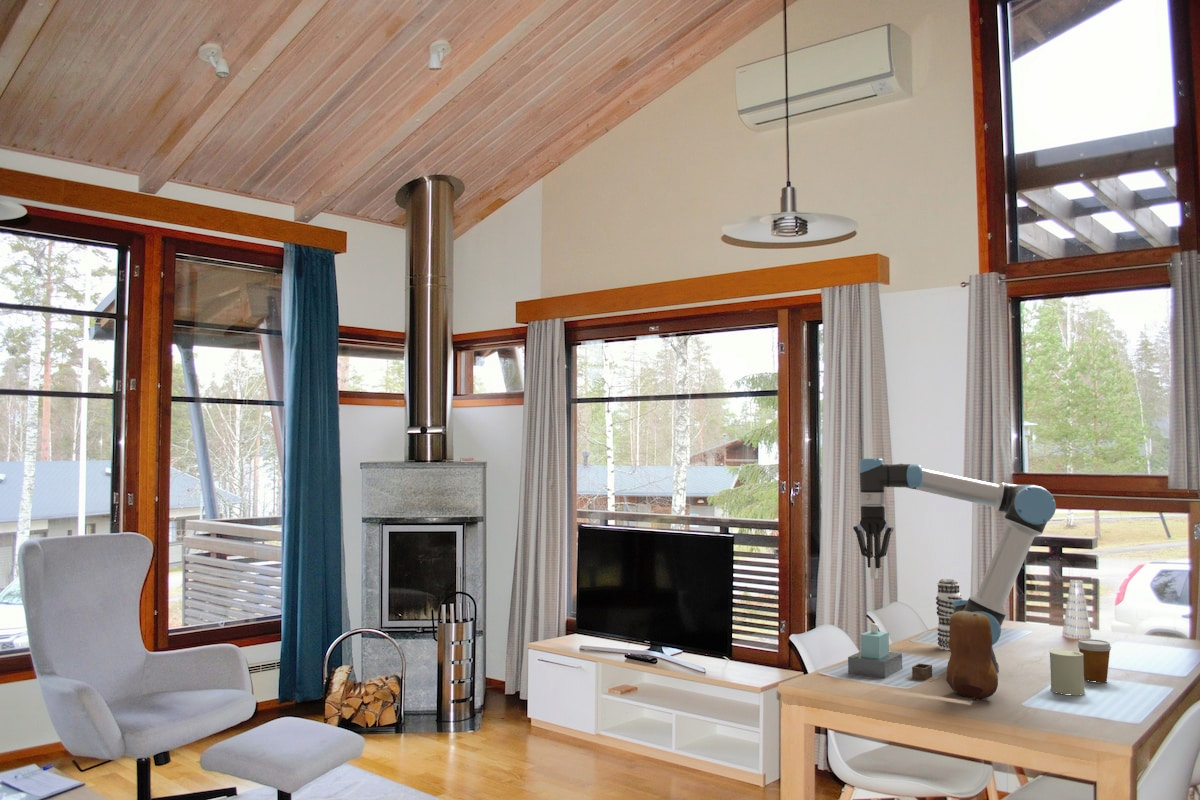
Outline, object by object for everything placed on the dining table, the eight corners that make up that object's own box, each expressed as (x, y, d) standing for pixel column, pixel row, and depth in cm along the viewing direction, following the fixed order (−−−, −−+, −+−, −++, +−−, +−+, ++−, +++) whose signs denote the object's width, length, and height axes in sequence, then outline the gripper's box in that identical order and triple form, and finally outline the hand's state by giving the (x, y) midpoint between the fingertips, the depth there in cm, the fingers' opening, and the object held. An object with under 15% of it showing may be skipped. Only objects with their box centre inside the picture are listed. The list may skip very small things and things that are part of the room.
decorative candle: (965, 647, 339) (964, 579, 341) (960, 652, 331) (958, 582, 333) (940, 645, 344) (938, 577, 346) (934, 649, 336) (932, 580, 338)
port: (902, 672, 300) (901, 652, 300) (885, 681, 287) (884, 660, 288) (866, 667, 307) (866, 648, 308) (848, 676, 294) (847, 656, 295)
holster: (939, 680, 289) (938, 665, 289) (931, 684, 283) (931, 670, 283) (913, 676, 294) (913, 662, 294) (905, 681, 287) (905, 666, 288)
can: (1083, 697, 268) (1082, 655, 269) (1048, 693, 273) (1047, 652, 273) (1086, 690, 276) (1084, 650, 276) (1052, 686, 280) (1051, 646, 281)
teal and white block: (889, 666, 299) (888, 623, 300) (879, 671, 292) (878, 627, 293) (871, 664, 303) (870, 621, 304) (861, 669, 295) (860, 625, 296)
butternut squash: (993, 694, 272) (991, 608, 273) (1002, 705, 259) (1000, 615, 260) (943, 691, 275) (941, 606, 276) (950, 702, 262) (948, 614, 263)
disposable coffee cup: (1100, 685, 282) (1098, 645, 283) (1071, 679, 290) (1070, 640, 291) (1119, 682, 286) (1118, 643, 287) (1090, 675, 295) (1089, 637, 295)
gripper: (849, 505, 302) (850, 577, 300) (888, 506, 294) (890, 580, 292) (857, 504, 308) (859, 575, 306) (896, 505, 300) (898, 578, 298)
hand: (874, 578), depth 299 cm, fingers closed
